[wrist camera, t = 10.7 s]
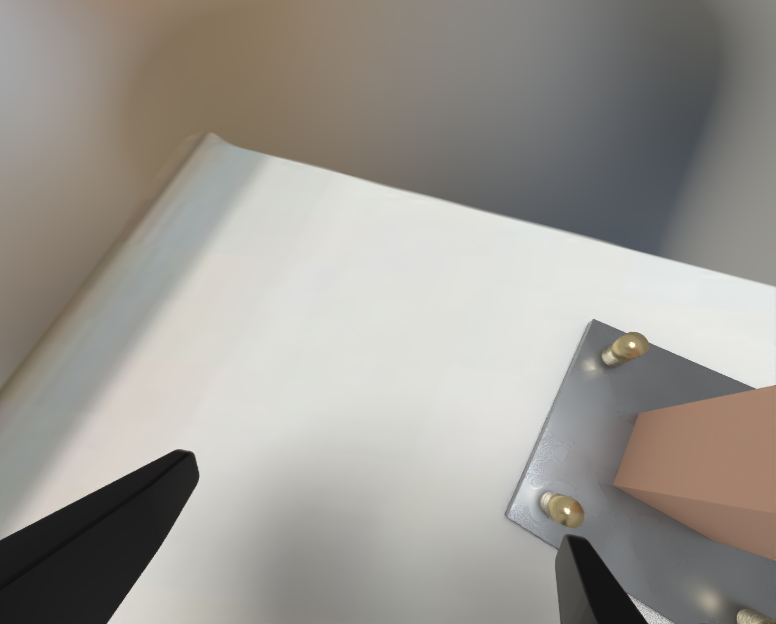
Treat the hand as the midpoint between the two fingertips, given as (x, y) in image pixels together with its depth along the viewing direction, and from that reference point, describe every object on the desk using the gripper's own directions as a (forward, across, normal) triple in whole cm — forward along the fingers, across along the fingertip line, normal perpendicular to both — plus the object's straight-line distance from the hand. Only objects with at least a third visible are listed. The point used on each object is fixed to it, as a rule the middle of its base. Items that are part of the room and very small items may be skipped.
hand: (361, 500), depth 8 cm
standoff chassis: (+11, -13, +7) cm, 18 cm away
